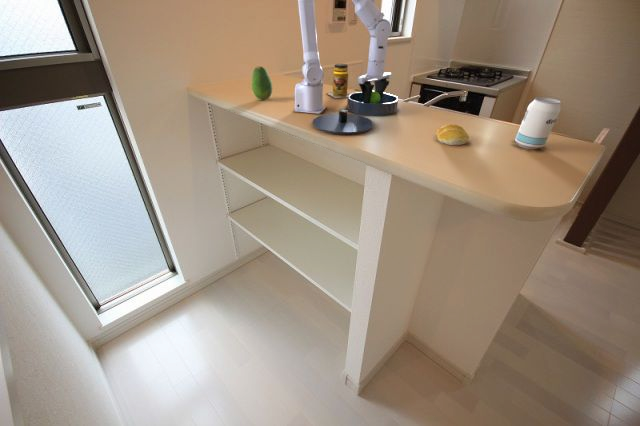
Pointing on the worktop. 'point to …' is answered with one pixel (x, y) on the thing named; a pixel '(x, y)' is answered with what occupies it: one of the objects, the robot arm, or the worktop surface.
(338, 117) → the lid
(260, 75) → the fruit
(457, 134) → the bread roll
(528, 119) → the beverage can
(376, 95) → the lime
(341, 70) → the condiment
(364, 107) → the pot
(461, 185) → the worktop surface
